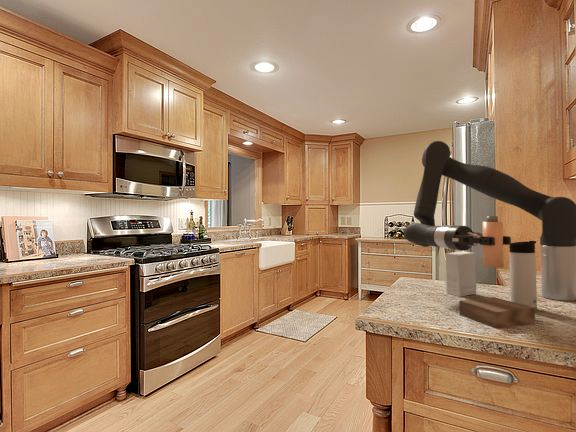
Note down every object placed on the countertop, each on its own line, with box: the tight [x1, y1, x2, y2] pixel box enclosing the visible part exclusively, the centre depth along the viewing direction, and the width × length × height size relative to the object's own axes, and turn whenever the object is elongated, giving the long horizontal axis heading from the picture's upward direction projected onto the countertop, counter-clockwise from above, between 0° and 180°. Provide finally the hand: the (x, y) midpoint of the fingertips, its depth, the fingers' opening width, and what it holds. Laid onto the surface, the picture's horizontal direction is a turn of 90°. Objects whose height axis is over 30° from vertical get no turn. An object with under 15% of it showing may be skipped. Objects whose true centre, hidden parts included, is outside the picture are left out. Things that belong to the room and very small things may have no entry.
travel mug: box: [508, 240, 538, 312], centre depth 96 cm, size 6×7×20 cm
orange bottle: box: [481, 215, 504, 269], centre depth 87 cm, size 5×5×14 cm
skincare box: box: [445, 250, 477, 297], centre depth 115 cm, size 8×6×15 cm
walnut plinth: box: [458, 296, 536, 329], centre depth 87 cm, size 12×12×4 cm
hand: (501, 241), depth 84 cm, fingers closed on orange bottle, 4 cm apart
